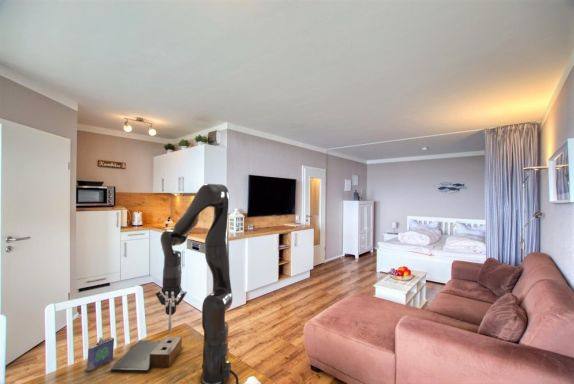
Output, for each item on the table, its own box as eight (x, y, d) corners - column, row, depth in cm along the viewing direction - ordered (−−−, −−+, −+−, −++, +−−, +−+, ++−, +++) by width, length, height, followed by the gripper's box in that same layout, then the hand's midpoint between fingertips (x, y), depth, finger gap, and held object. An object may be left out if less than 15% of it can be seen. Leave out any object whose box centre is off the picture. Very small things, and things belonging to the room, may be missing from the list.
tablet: (169, 343, 120) (169, 340, 120) (146, 372, 100) (147, 369, 100) (139, 342, 119) (139, 340, 119) (110, 371, 99) (111, 369, 99)
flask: (88, 372, 99) (90, 344, 99) (84, 369, 100) (86, 342, 100) (114, 359, 107) (115, 333, 107) (110, 357, 108) (111, 331, 108)
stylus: (172, 332, 113) (173, 302, 113) (170, 333, 112) (172, 303, 112) (169, 332, 113) (170, 301, 113) (167, 333, 112) (168, 303, 112)
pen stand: (181, 348, 116) (181, 337, 116) (168, 367, 103) (169, 354, 103) (163, 347, 116) (164, 336, 116) (149, 366, 103) (149, 354, 103)
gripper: (152, 277, 109) (150, 317, 109) (184, 277, 109) (182, 318, 109) (160, 271, 117) (159, 309, 116) (190, 272, 117) (189, 310, 117)
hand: (170, 313), depth 113 cm, fingers closed on stylus, 1 cm apart
